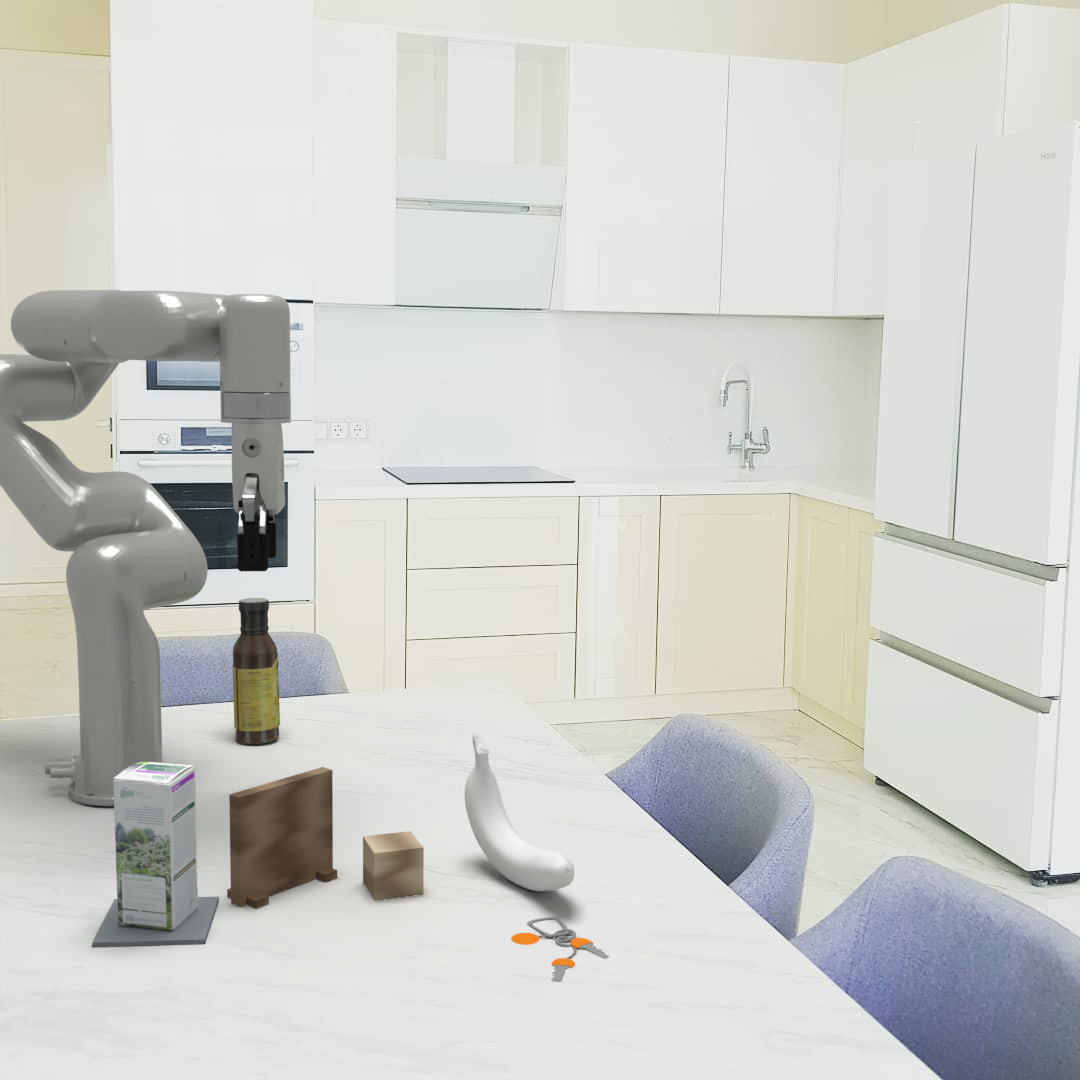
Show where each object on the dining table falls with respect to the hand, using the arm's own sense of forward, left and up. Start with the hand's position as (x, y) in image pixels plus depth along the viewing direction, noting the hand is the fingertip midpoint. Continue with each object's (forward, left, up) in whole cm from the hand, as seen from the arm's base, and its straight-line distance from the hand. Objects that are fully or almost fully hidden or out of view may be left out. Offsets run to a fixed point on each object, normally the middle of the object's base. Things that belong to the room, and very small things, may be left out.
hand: (257, 564), depth 150 cm
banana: (+28, -19, -31) cm, 46 cm away
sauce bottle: (-4, +36, -31) cm, 47 cm away
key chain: (+30, -34, -31) cm, 55 cm away
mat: (-7, -26, -30) cm, 41 cm away
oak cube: (+15, -19, -30) cm, 39 cm away
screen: (+4, -18, -30) cm, 35 cm away
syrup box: (-7, -26, -30) cm, 40 cm away
